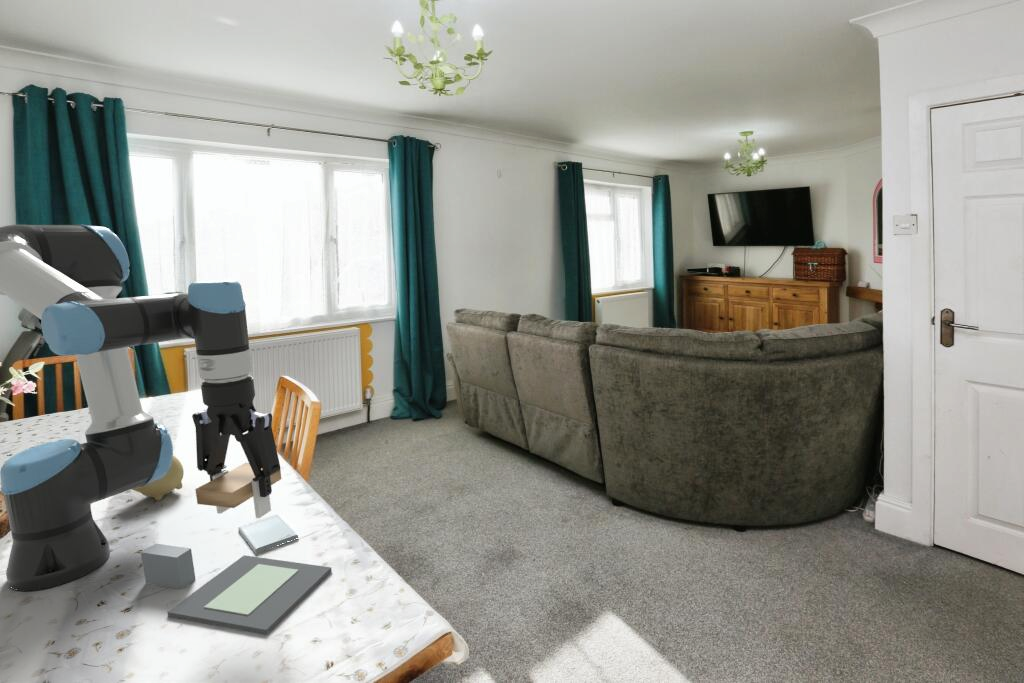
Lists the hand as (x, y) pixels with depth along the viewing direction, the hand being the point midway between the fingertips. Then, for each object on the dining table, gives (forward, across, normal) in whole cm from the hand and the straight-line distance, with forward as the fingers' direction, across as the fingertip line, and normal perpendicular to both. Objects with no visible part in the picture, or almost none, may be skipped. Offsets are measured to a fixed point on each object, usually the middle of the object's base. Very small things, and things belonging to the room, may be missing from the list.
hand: (244, 511), depth 93 cm
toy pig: (+15, -52, +28) cm, 60 cm away
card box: (-4, 0, 0) cm, 4 cm away
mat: (+15, 0, 0) cm, 15 cm away
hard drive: (+16, -12, +17) cm, 26 cm away
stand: (+15, -18, 0) cm, 23 cm away
